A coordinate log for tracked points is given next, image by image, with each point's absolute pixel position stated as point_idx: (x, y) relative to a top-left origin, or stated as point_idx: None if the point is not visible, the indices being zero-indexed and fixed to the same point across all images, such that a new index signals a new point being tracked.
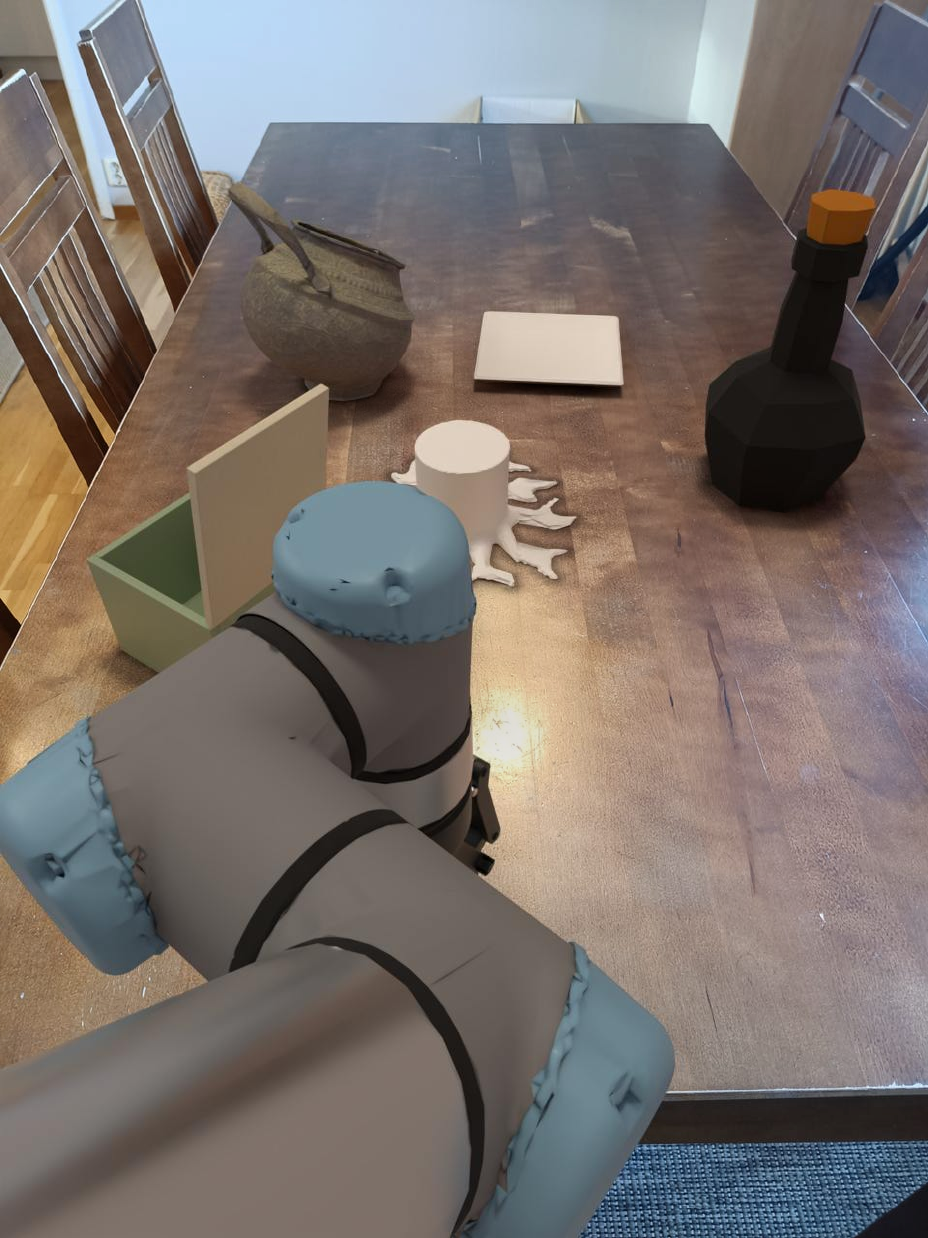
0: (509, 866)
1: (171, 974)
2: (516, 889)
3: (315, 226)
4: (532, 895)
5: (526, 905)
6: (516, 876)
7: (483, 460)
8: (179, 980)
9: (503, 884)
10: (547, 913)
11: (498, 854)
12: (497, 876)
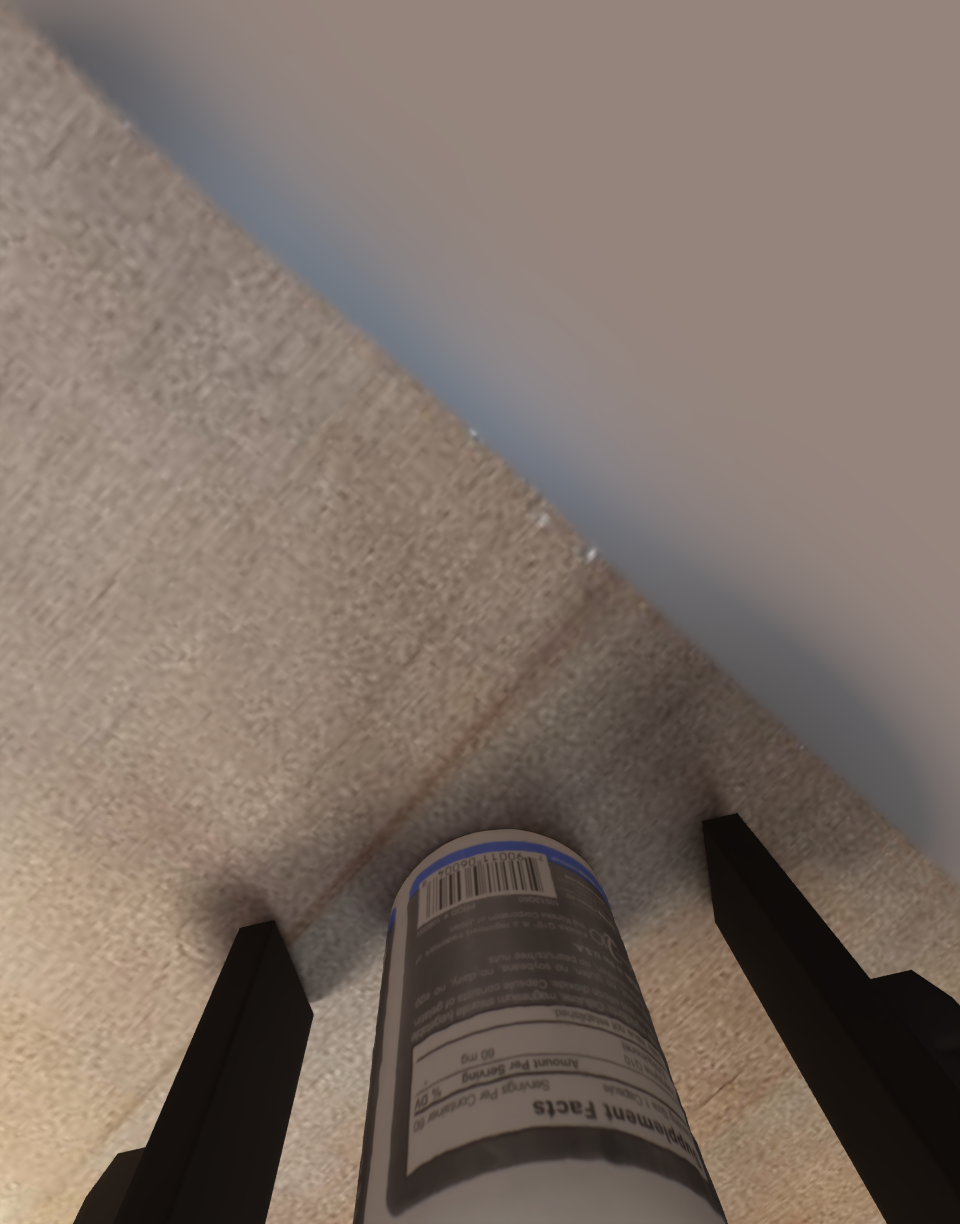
0: (22, 992)
1: None
2: (50, 928)
3: None
4: (13, 886)
5: (54, 874)
6: (22, 958)
7: None
8: None
9: (79, 962)
10: (4, 815)
11: (31, 1035)
12: (80, 989)
